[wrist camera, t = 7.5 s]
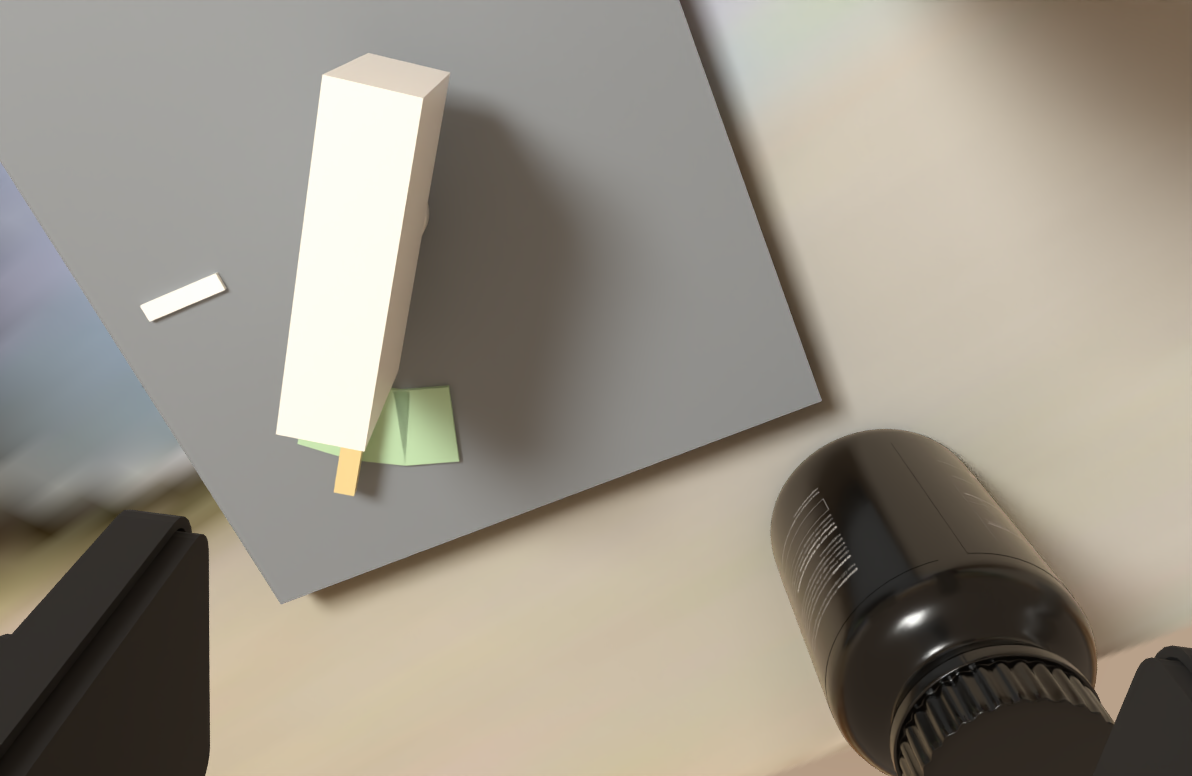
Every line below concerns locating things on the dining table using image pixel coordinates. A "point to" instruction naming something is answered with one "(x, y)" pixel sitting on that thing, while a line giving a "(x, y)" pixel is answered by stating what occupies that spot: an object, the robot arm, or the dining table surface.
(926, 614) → the supplement bottle
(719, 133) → the slate dial board
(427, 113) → the white ice pop
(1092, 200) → the dining table surface
